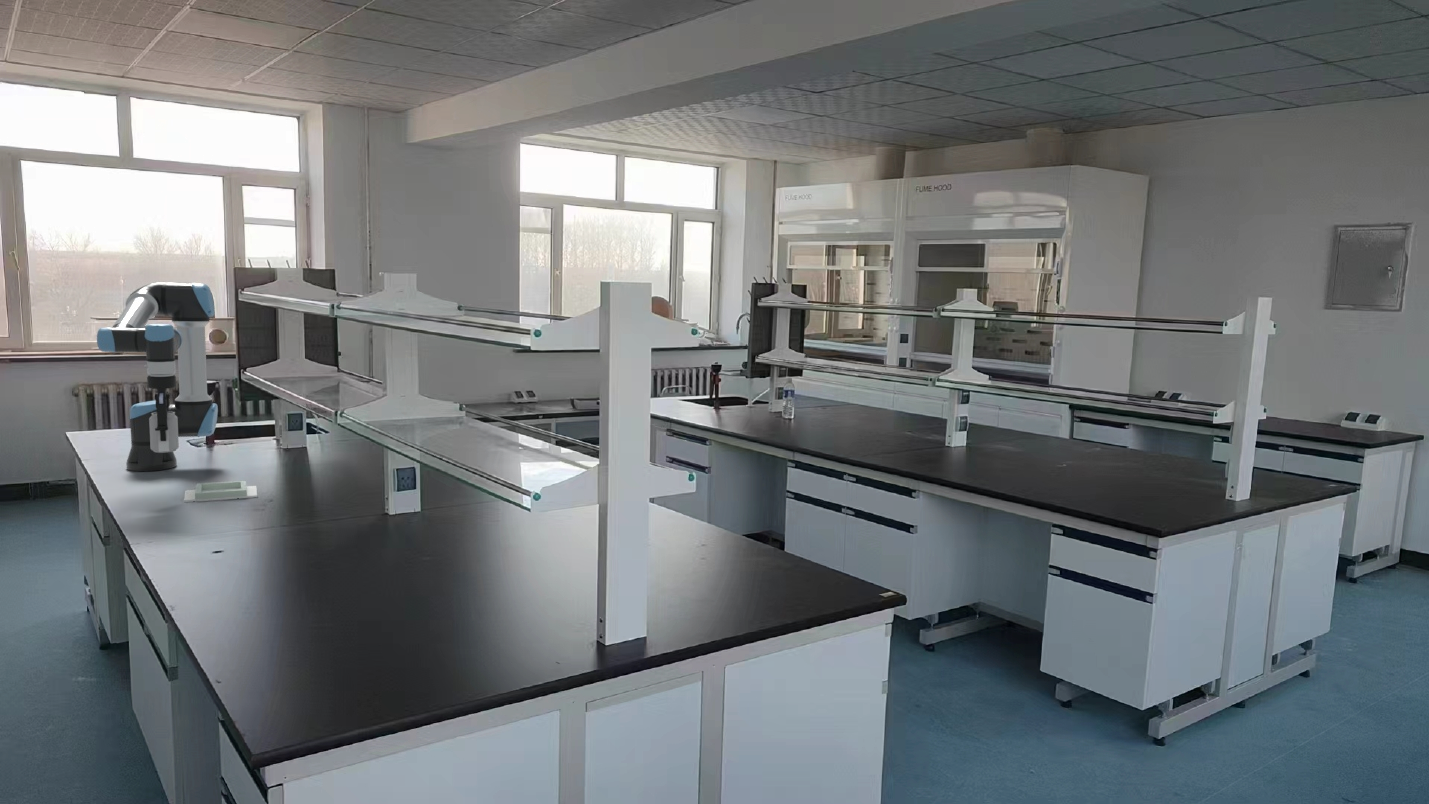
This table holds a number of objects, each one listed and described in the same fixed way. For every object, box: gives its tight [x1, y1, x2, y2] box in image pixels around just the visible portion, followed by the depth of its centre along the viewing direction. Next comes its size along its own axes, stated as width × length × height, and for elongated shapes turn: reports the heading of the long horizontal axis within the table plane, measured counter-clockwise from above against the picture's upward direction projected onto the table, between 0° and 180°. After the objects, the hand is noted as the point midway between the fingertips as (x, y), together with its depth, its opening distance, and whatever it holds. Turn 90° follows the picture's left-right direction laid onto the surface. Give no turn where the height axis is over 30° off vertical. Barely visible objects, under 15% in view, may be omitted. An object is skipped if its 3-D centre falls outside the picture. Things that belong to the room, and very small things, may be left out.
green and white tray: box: [183, 480, 258, 503], centre depth 293 cm, size 14×20×2 cm
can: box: [149, 411, 180, 453], centre depth 286 cm, size 8×8×12 cm
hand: (164, 448), depth 287 cm, fingers closed on can, 7 cm apart
